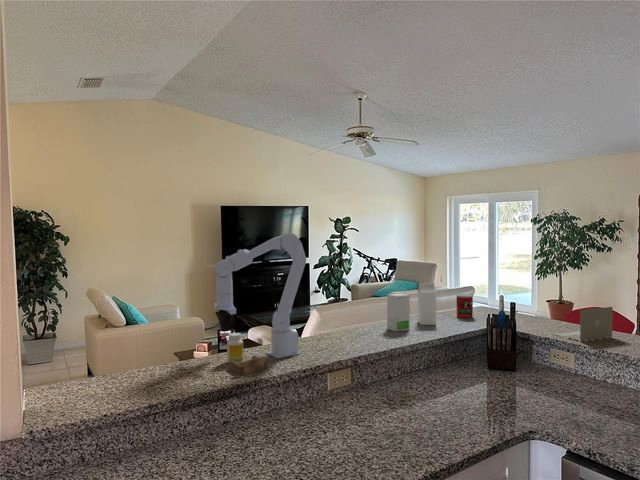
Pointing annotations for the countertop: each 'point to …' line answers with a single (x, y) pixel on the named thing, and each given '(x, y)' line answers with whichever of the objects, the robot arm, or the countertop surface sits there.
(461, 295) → the canned food
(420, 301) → the milk carton
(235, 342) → the supplement bottle
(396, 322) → the skincare box
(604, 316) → the laptop
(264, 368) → the wooden holder
